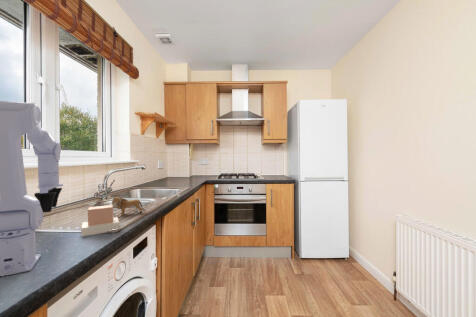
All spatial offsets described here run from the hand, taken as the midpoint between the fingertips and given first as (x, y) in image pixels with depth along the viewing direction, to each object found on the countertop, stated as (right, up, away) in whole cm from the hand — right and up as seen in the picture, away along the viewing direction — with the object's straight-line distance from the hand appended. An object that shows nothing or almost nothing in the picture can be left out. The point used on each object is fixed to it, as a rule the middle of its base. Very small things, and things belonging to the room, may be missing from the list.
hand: (49, 209), depth 79 cm
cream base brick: (+16, -10, +5) cm, 19 cm away
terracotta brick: (+16, -6, +5) cm, 18 cm away
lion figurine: (+15, -9, +27) cm, 32 cm away
